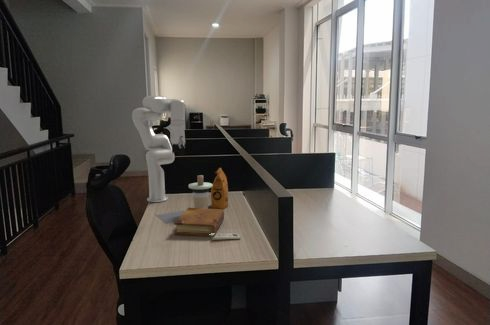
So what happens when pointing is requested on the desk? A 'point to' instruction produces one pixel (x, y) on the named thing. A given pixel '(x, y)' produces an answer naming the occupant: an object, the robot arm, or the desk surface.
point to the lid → (200, 184)
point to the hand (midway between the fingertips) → (178, 153)
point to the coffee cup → (200, 198)
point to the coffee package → (219, 191)
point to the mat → (170, 216)
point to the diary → (199, 221)
